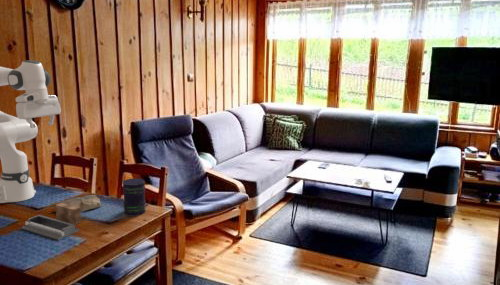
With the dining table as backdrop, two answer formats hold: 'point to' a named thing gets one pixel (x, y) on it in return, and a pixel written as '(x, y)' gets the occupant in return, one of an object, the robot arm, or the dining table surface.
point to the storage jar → (134, 196)
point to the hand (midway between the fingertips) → (42, 126)
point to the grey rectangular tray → (49, 227)
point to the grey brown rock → (84, 202)
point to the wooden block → (68, 213)
